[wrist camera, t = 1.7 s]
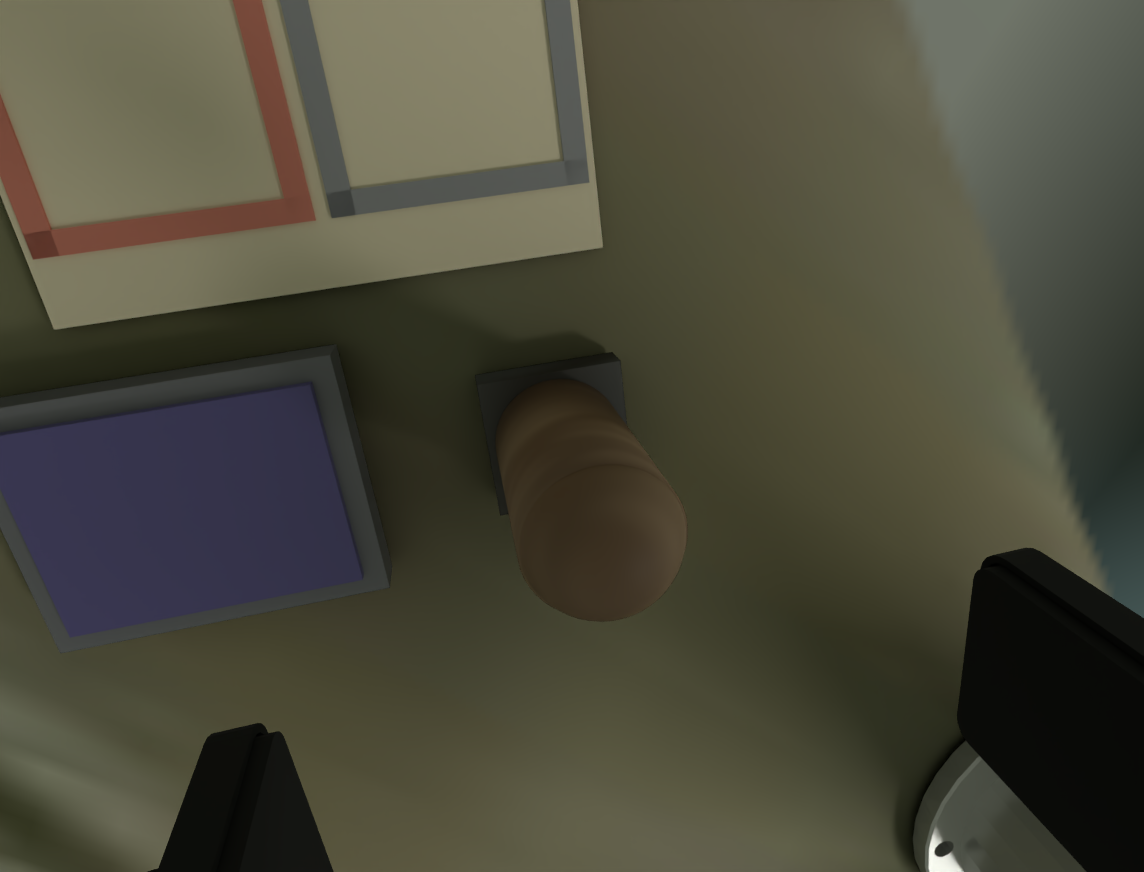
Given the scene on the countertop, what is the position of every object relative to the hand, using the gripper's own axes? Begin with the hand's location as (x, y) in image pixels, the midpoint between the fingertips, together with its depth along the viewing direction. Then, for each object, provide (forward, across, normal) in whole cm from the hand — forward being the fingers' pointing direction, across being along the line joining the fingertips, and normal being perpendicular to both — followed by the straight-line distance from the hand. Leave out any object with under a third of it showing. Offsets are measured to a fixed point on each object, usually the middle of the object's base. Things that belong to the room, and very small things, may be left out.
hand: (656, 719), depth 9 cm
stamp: (+12, -1, +1) cm, 13 cm away
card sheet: (+13, +4, -9) cm, 16 cm away
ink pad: (+13, +9, +1) cm, 16 cm away
